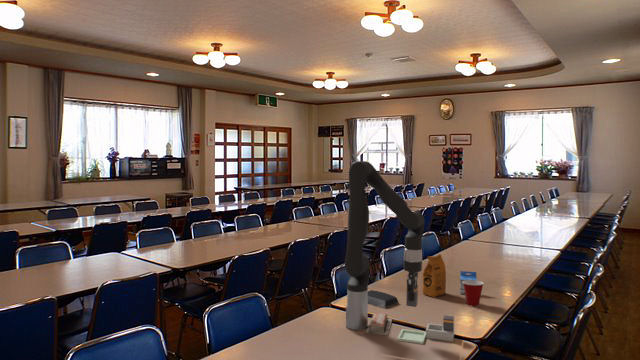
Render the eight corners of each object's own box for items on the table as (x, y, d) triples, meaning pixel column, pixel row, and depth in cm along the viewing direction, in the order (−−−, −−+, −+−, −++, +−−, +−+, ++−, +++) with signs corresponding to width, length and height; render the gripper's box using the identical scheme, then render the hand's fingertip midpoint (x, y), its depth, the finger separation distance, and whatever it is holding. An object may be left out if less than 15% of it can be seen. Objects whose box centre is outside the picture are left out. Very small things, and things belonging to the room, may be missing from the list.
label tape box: (460, 294, 247) (460, 272, 247) (459, 292, 251) (460, 270, 251) (476, 295, 245) (476, 273, 244) (476, 293, 249) (476, 271, 248)
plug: (406, 305, 185) (406, 287, 185) (407, 302, 189) (408, 284, 189) (416, 307, 184) (416, 288, 183) (417, 304, 188) (418, 285, 187)
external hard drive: (383, 309, 224) (383, 301, 224) (355, 300, 239) (355, 293, 238) (399, 303, 233) (399, 296, 233) (371, 295, 247) (371, 288, 247)
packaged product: (388, 326, 189) (365, 324, 192) (388, 337, 189) (365, 335, 192) (392, 312, 207) (370, 310, 209) (392, 322, 207) (371, 320, 209)
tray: (397, 341, 184) (397, 338, 184) (401, 332, 194) (401, 328, 194) (423, 345, 180) (423, 341, 180) (426, 335, 190) (426, 332, 190)
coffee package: (419, 293, 249) (419, 255, 248) (434, 290, 256) (434, 252, 255) (433, 298, 240) (433, 258, 239) (448, 294, 248) (448, 255, 246)
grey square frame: (425, 339, 186) (425, 318, 186) (428, 332, 194) (428, 311, 193) (452, 342, 183) (453, 321, 182) (454, 335, 190) (454, 314, 190)
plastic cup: (480, 301, 235) (481, 279, 235) (486, 308, 224) (486, 284, 224) (459, 300, 236) (460, 278, 236) (464, 307, 225) (464, 284, 225)
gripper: (406, 254, 193) (406, 293, 194) (400, 262, 180) (399, 303, 181) (424, 256, 191) (423, 295, 192) (419, 263, 177) (418, 305, 178)
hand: (411, 299), depth 186 cm, fingers closed on plug, 4 cm apart
